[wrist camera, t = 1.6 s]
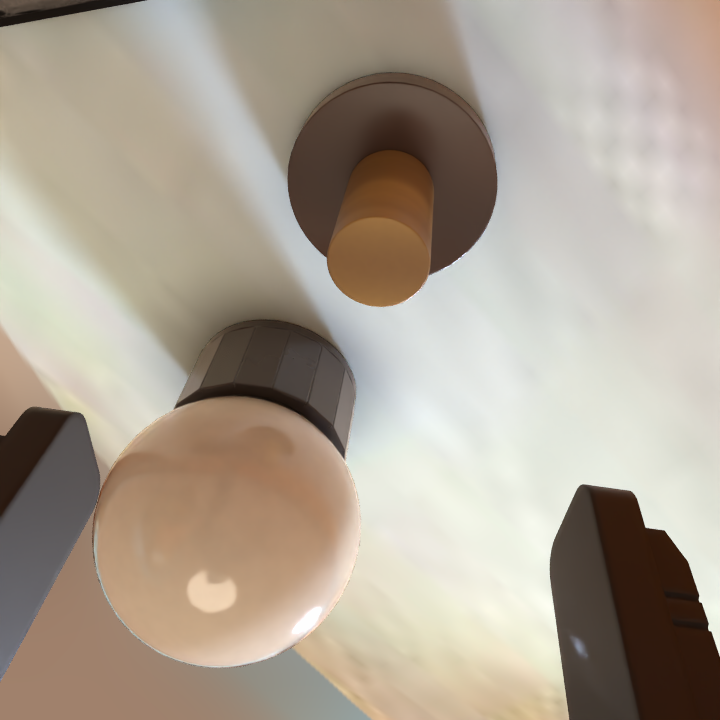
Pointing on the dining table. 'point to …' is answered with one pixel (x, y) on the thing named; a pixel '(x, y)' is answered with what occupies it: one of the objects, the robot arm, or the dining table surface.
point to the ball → (226, 531)
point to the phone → (49, 9)
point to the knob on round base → (392, 184)
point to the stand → (278, 374)
